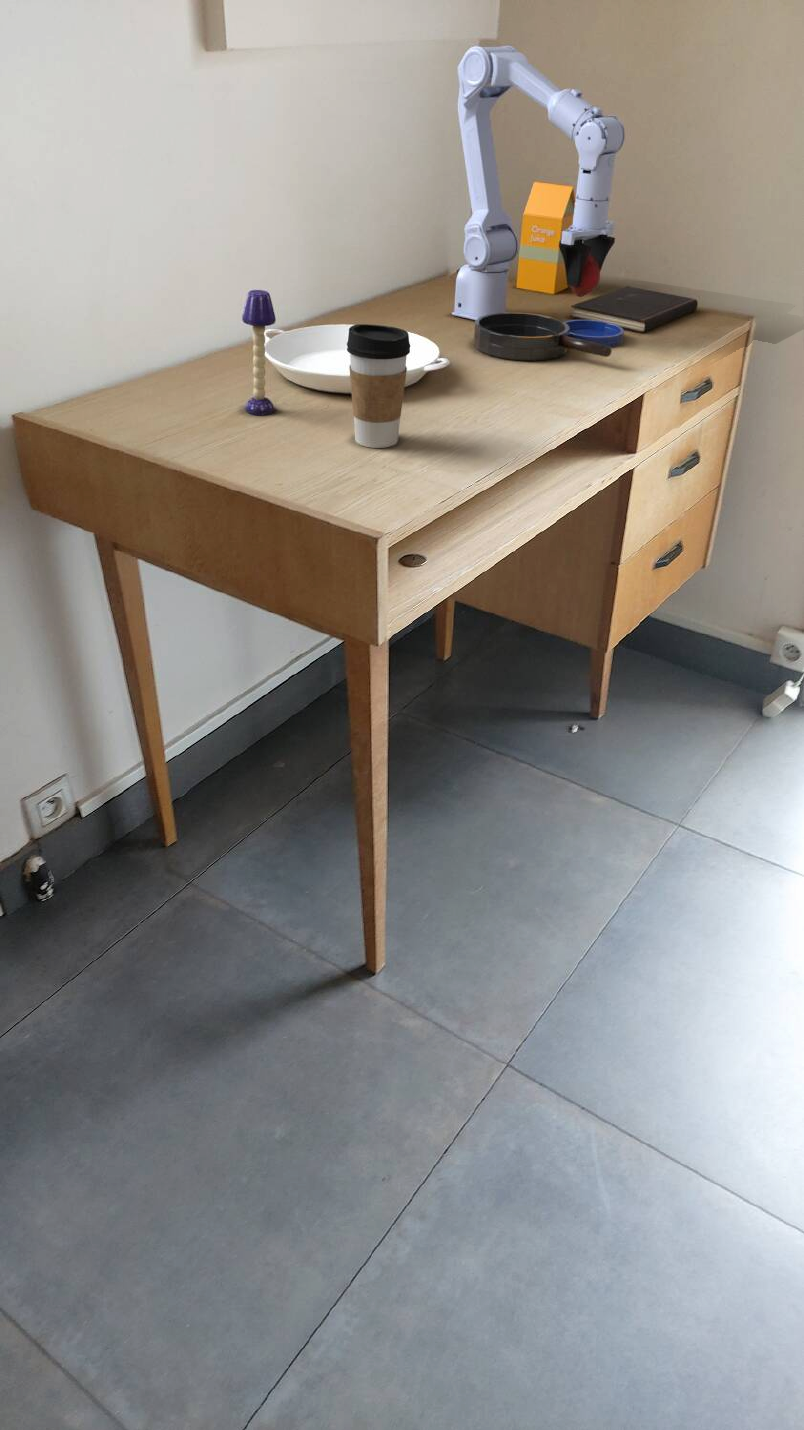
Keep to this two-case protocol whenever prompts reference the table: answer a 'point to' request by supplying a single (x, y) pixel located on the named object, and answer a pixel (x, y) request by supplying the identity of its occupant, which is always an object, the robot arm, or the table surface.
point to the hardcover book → (634, 308)
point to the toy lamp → (259, 347)
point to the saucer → (596, 332)
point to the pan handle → (585, 346)
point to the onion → (588, 277)
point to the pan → (336, 357)
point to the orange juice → (545, 237)
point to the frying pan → (520, 336)
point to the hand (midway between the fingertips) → (581, 283)
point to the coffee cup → (377, 382)
